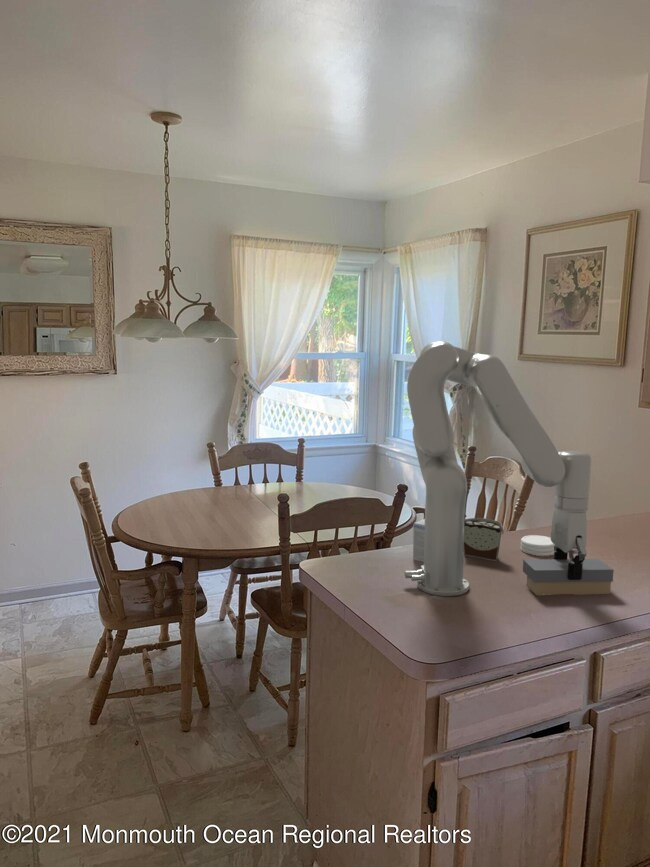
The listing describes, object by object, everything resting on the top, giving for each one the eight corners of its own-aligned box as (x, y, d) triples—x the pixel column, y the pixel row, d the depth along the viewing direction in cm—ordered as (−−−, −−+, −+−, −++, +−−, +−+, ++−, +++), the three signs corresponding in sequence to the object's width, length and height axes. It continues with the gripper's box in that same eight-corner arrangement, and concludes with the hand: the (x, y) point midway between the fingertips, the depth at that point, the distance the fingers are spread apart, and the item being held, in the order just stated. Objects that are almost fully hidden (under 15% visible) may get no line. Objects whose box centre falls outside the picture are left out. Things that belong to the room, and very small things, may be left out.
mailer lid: (534, 582, 150) (534, 570, 150) (522, 571, 157) (523, 559, 157) (612, 581, 151) (613, 569, 150) (597, 570, 158) (598, 559, 158)
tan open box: (536, 596, 151) (537, 572, 150) (526, 586, 157) (527, 562, 156) (609, 594, 152) (611, 570, 151) (597, 584, 158) (598, 561, 157)
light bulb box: (431, 550, 184) (432, 514, 183) (452, 554, 180) (452, 518, 178) (411, 559, 176) (412, 522, 175) (433, 565, 172) (433, 526, 170)
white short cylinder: (513, 548, 186) (513, 537, 185) (539, 544, 190) (539, 532, 189) (537, 559, 177) (538, 547, 176) (564, 554, 181) (565, 542, 181)
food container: (508, 555, 179) (509, 521, 178) (501, 562, 174) (503, 526, 172) (466, 548, 186) (467, 515, 184) (459, 554, 180) (460, 520, 179)
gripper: (542, 494, 160) (538, 561, 162) (571, 512, 143) (567, 587, 145) (571, 494, 160) (567, 561, 163) (604, 512, 143) (599, 586, 146)
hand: (567, 572), depth 154 cm, fingers closed on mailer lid, 7 cm apart
